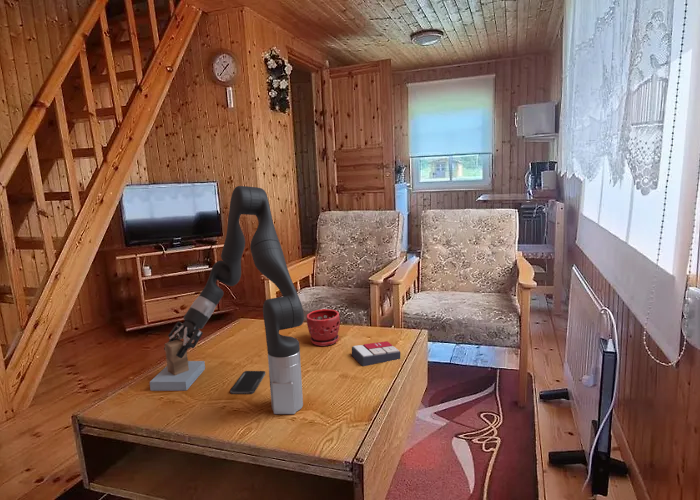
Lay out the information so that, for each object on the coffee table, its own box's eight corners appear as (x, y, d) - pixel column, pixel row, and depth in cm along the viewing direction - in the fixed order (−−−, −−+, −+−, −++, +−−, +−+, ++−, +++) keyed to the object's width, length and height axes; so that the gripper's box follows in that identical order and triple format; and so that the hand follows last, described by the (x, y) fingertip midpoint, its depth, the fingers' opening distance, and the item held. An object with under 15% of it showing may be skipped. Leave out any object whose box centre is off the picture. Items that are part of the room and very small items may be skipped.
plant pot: (310, 336, 190) (308, 309, 188) (341, 336, 189) (340, 308, 187) (305, 348, 177) (304, 319, 175) (339, 348, 176) (338, 318, 174)
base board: (186, 390, 146) (185, 381, 146) (150, 390, 147) (149, 382, 147) (205, 368, 162) (204, 360, 162) (172, 369, 163) (171, 361, 162)
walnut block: (188, 370, 154) (185, 342, 153) (174, 375, 151) (171, 347, 149) (181, 366, 158) (178, 339, 156) (167, 371, 154) (164, 343, 152)
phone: (228, 391, 143) (244, 370, 158) (229, 395, 143) (244, 373, 158) (253, 392, 142) (266, 370, 157) (253, 395, 142) (266, 373, 157)
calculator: (401, 350, 164) (362, 355, 159) (400, 361, 165) (362, 367, 159) (387, 340, 174) (351, 344, 169) (387, 350, 175) (351, 355, 169)
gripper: (181, 303, 161) (153, 344, 154) (203, 310, 151) (174, 354, 145) (197, 313, 165) (170, 353, 159) (218, 321, 156) (191, 364, 150)
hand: (172, 353), depth 152 cm, fingers open, 8 cm apart
